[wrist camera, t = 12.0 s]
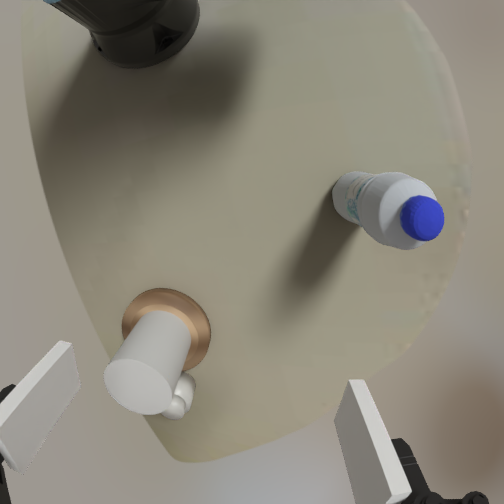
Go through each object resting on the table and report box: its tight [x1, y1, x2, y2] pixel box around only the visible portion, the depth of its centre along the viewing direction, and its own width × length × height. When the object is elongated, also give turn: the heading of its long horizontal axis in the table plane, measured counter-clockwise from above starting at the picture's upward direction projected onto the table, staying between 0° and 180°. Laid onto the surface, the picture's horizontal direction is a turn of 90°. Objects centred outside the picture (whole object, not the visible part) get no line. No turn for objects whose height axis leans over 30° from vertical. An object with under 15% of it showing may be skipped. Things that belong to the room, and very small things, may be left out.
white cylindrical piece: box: [104, 311, 191, 415], centre depth 36 cm, size 8×8×12 cm
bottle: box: [332, 171, 444, 250], centre depth 29 cm, size 7×7×20 cm
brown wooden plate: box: [122, 288, 211, 371], centre depth 43 cm, size 13×13×2 cm
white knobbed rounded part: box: [161, 372, 196, 420], centre depth 44 cm, size 5×5×7 cm
